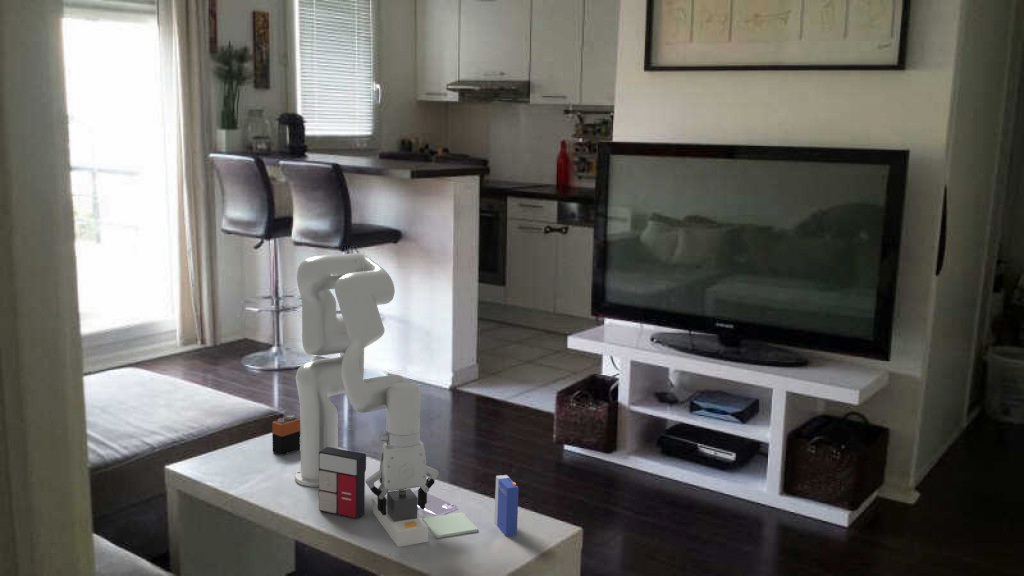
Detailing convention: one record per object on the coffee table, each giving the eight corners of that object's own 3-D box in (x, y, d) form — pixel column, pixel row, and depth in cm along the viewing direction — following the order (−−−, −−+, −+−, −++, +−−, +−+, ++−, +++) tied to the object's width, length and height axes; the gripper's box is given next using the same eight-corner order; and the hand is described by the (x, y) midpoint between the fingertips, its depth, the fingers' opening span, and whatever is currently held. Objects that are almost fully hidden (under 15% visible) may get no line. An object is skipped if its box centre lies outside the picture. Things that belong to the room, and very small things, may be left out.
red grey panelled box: (316, 511, 218) (316, 452, 215) (326, 505, 222) (326, 446, 219) (356, 520, 214) (356, 459, 211) (366, 513, 218) (366, 453, 215)
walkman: (517, 535, 209) (518, 485, 207) (505, 536, 208) (507, 486, 206) (505, 521, 216) (506, 473, 214) (494, 522, 215) (495, 474, 213)
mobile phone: (418, 488, 232) (460, 505, 223) (418, 491, 233) (459, 509, 223) (395, 496, 227) (437, 514, 217) (395, 500, 227) (437, 518, 217)
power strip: (372, 511, 219) (372, 495, 218) (400, 507, 222) (400, 491, 221) (397, 546, 201) (398, 529, 200) (427, 541, 204) (428, 524, 203)
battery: (301, 449, 259) (300, 415, 257) (282, 456, 253) (281, 421, 251) (290, 446, 261) (290, 412, 259) (271, 452, 256) (271, 418, 254)
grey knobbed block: (386, 518, 211) (387, 487, 209) (409, 515, 213) (410, 484, 212) (394, 528, 206) (394, 496, 204) (417, 524, 208) (417, 493, 207)
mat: (422, 520, 215) (422, 518, 215) (461, 514, 219) (461, 512, 219) (436, 538, 206) (437, 535, 206) (477, 531, 210) (477, 528, 210)
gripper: (370, 447, 199) (370, 522, 202) (444, 438, 206) (443, 510, 209) (361, 437, 206) (360, 509, 209) (433, 428, 213) (432, 498, 216)
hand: (402, 509), depth 209 cm, fingers open, 8 cm apart
